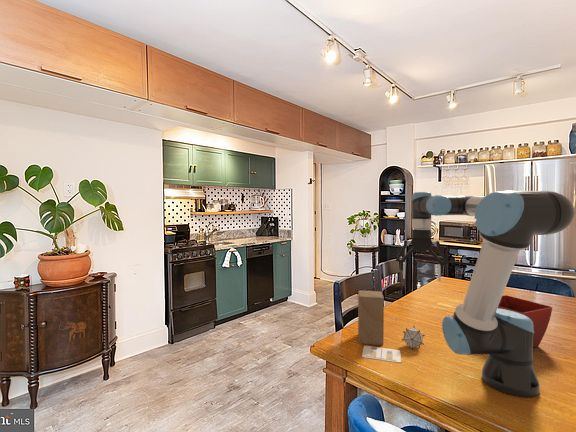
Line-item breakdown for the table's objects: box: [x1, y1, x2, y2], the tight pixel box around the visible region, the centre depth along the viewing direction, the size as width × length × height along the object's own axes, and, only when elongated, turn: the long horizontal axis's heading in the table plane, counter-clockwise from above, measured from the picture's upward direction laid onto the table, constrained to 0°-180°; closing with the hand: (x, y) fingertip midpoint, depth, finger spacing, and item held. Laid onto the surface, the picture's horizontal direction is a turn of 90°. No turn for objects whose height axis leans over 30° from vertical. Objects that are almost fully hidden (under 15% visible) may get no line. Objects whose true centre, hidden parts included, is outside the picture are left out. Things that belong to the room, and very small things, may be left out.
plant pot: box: [498, 294, 553, 348], centre depth 131 cm, size 19×19×17 cm
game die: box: [401, 325, 426, 351], centre depth 127 cm, size 9×8×10 cm
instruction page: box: [361, 345, 402, 364], centre depth 121 cm, size 10×14×1 cm
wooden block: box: [357, 290, 385, 346], centre depth 134 cm, size 10×10×20 cm
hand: (421, 279), depth 131 cm, fingers open, 13 cm apart
